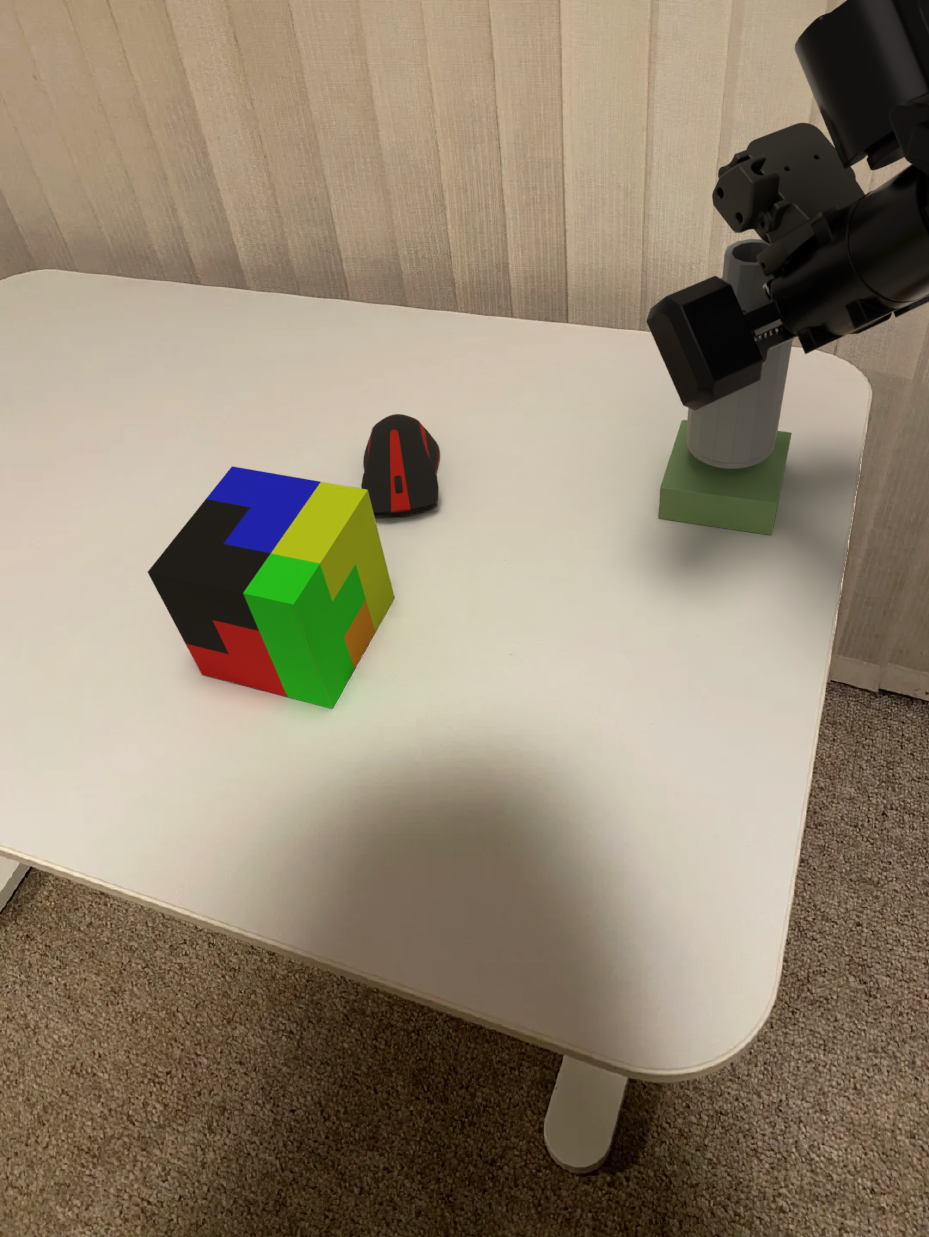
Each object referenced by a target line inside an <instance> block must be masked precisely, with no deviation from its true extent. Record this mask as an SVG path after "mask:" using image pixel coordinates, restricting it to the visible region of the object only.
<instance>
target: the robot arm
mask: <svg viewBox="0 0 929 1237" xmlns="http://www.w3.org/2000/svg"><path fill="white" fill-rule="evenodd" d="M794 52H795V54H796V58H797V59H798V62H799V64H800V66H801V69H802V71H803V74H804V76H805V78H806V81H807V83H808V85H809V88H810V91H811V93H812V96H813V98H814V100H815V103H816V105H817V108H818V110H819V112H820V115H821V118H822V120H823V121H824V125H825V127H826V129H827V132H828V135H829V137H830V140H831V141H830V140H829V139H828V137H827V136H826V135H825V133H824V132H823V131H822V130H821V129H820V128H819V127H817V126H816V125H814V124H812V123H808V122H798V123H795V124H792V125H789V126H786V127H784V128H781V129H779V130H776V131H773V132H770V133H768V134H766V135H763V136H760V137H758V138H754V139H752V141H750V142H749V143H748V144H747V147H746V149H745V150H741V151H739V152H736V153H734V155H733V157H732V159H731V161H730V162H729V163H727V164H726V165H723V166H721V167H719V168H718V172H717V178H718V179H717V181H716V184H715V186H714V187H713V190H712V194H711V198H712V204H713V207H714V208H715V210H716V211H717V212H718V213H719V215H720V216H721V217H722V219H723V220H724V221H725V222H726V224H727V226H729V228H730V230H732V231H733V232H734V233H736V234H742V233H744V232H747V231H750V230H753V231H754V232H755V234H756V235H757V236H758V237H759V239H761V240H764V241H765V242H767V243H769V244H771V245H770V246H769V247H767V248H766V249H765V250H763V251H762V252H761V253H759V254H758V255H757V256H756V258H757V261H758V263H759V265H760V268H761V270H762V272H763V275H764V276H765V277H768V276H770V275H772V277H773V279H771V280H769V281H767V282H766V283H764V284H763V289H764V292H765V294H766V296H767V298H768V299H769V300H772V303H769V304H767V305H765V306H762V307H760V308H758V309H756V310H753V311H751V312H749V313H746V310H745V308H744V309H741V307H740V304H739V302H738V300H737V297H736V295H735V293H734V290H733V288H732V286H731V284H729V283H727V282H726V281H724V280H722V279H721V278H722V277H719V276H717V275H712V276H711V277H709V278H706V279H704V280H701V281H699V282H696V283H694V284H692V285H689V286H687V287H685V288H681V289H680V290H677V291H675V292H672V293H671V294H668V295H666V296H664V297H663V298H662V299H661V300H658V302H657V303H655V304H654V305H653V306H652V307H650V308H649V312H648V314H647V317H646V319H645V320H646V321H645V322H646V324H647V327H648V329H649V331H650V333H651V336H652V338H653V340H654V343H655V346H656V347H657V350H658V352H659V354H660V356H661V358H662V361H663V363H664V366H665V367H666V370H667V373H668V374H669V377H670V380H671V382H672V384H673V386H674V389H675V391H676V393H677V395H678V397H679V400H680V402H681V404H682V406H683V407H686V408H687V409H688V408H690V409H692V410H694V411H696V410H698V409H700V408H702V407H704V406H706V405H709V404H711V403H713V402H715V401H717V400H719V399H722V398H724V397H726V396H728V395H730V394H732V393H734V392H736V391H739V390H741V389H743V388H745V387H747V386H749V385H751V384H753V383H755V382H757V381H759V380H760V378H761V371H762V366H763V365H765V363H766V362H767V360H768V351H769V350H770V349H772V348H774V347H776V346H779V345H781V344H783V343H785V342H787V341H790V340H792V339H793V340H794V339H797V338H798V341H799V343H800V345H801V348H802V350H803V352H804V354H805V355H807V354H810V353H812V352H813V351H815V350H817V349H820V348H822V347H824V346H826V345H829V344H830V343H833V342H835V341H838V340H840V339H842V338H844V337H846V336H849V335H859V334H861V333H863V332H865V331H868V330H869V329H871V328H874V327H876V326H878V325H880V324H883V323H885V322H887V321H888V320H890V319H891V317H892V315H894V317H895V318H899V317H901V316H903V315H905V314H907V313H909V312H911V311H914V310H916V309H918V308H920V307H922V306H925V305H926V304H928V303H929V0H845V1H843V2H842V3H841V4H839V5H838V6H837V7H835V8H834V9H833V10H831V11H830V12H827V13H824V14H822V15H820V16H818V17H817V18H815V19H813V21H812V22H811V23H810V24H809V25H808V26H807V27H806V28H805V29H804V31H802V33H801V34H800V35H799V36H798V38H797V39H796V42H795V43H794ZM865 158H866V163H867V165H868V167H869V170H870V171H877V170H880V169H882V168H885V167H887V166H890V165H891V164H894V163H896V162H898V161H899V160H902V159H905V161H906V162H908V163H910V165H908V166H907V167H905V168H903V170H901V171H899V172H898V173H897V174H895V175H894V176H892V177H891V178H889V179H888V180H886V181H885V182H884V183H882V184H881V185H879V186H878V187H876V188H875V189H873V190H870V191H869V192H866V193H865V192H864V191H863V188H862V187H861V185H860V184H859V182H858V181H857V178H856V177H857V174H856V173H855V171H854V169H853V168H852V166H854V165H856V164H858V163H859V162H861V161H862V160H864V159H865ZM778 321H781V322H782V324H781V325H779V326H776V327H774V328H773V329H770V330H768V331H765V332H763V333H762V335H761V334H759V335H757V336H756V334H755V331H757V330H760V329H762V328H764V327H766V326H769V325H771V324H773V323H775V322H778ZM756 340H757V341H756Z"/></svg>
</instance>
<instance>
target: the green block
mask: <svg viewBox="0 0 929 1237" xmlns="http://www.w3.org/2000/svg"><path fill="white" fill-rule="evenodd" d="M686 432H687V420H686V419H682V420H681V421H680V425H679V428H678V431H677V434H676V437H675V439H674V440H675V441H674V443H673V447H672V449H671V453H670V456H669V459H668V462H667V465H666V469H665V471H664V474H663V476H662V477H663V478H662V482H661V484H660V487H659V499H658V500H659V502H658V517H657V518H658V519H661V520H668V521H673V522H674V521H675V522H680V523H687V524H693V525H701V526H702V525H703V526H706V527H707V526H708V527H714V528H722V529H728V530H735V531H742V532H747V533H748V532H749V533H753V534H761V535H767V536H772V535H773V530H774V525H775V520H776V515H777V510H778V505H779V501H780V500H779V499H780V495H781V490H782V486H783V481H784V475H785V470H786V466H787V460H788V454H789V449H790V444H791V440H792V432H790V431H783V430H782V431H781V430H778V431H777V437H776V440H775V445H774V449H773V451H772V453H771V454H770V455H769V456H768V457H767V458H766V459H765V460H763V461H762V462H760V463H758V464H756V465H753V466H750V467H745V468H738V469H726V468H719V467H715V466H711V465H708V464H706V463H704V462H702V461H700V460H698V459H697V458H696V457H695V456H693V454H692V453H691V452H690V450H689V449H688V446H687V436H686Z"/></svg>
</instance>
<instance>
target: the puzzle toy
mask: <svg viewBox="0 0 929 1237" xmlns="http://www.w3.org/2000/svg"><path fill="white" fill-rule="evenodd" d="M387 565H388V564H387V562H386V557H385V553H384V549H383V544H382V542H381V537H380V533H379V530H378V526H377V521H376V516H374V513H373V509H372V505H371V501H370V497H369V493H368V490H366V489H361V487H360V488H359V487H355V486H348V485H343V484H337V483H331V482H326V481H320V480H314V479H307V478H301V477H296V476H291V475H284V474H280V473H274V472H268V471H261V470H256V469H250V468H245V467H238V466H232V465H231V467H230V468H229V469H228V470H227V471H226V473H225V474H224V475H223V477H222V478H221V479H220V480H219V482H218V483H217V484H216V485H215V487H214V488H213V490H211V492H210V493H209V494H208V495H207V497H206V498H205V499H204V500H203V502H202V503H201V504H200V506H198V508H197V509H196V510H195V512H194V513H193V514H192V516H191V517H190V518H189V519H188V521H187V522H186V523H185V524H184V526H183V527H182V528H181V529H180V530H179V532H178V533H177V534H176V536H175V537H174V538H173V539H172V541H170V543H169V544H168V546H167V547H166V548H165V549H164V551H163V552H161V554H160V556H159V557H158V558H157V559H156V560H155V561H154V563H153V565H151V566H150V568H149V569H148V571H147V574H148V576H149V577H150V579H151V581H152V584H153V586H154V588H155V589H156V591H157V593H158V595H159V597H160V599H161V600H162V602H163V604H164V607H165V608H166V610H167V612H168V614H169V616H170V618H171V619H172V622H173V623H174V625H175V627H176V629H177V631H178V632H179V634H180V636H181V638H182V640H183V642H184V644H185V646H186V648H187V649H188V652H189V653H190V655H191V657H192V659H193V661H194V662H195V665H196V666H197V668H198V670H199V672H200V674H201V676H205V677H209V678H212V679H216V680H219V681H224V682H228V683H232V684H234V685H235V684H236V685H240V686H243V687H247V688H251V689H254V690H259V691H263V692H267V693H271V694H274V695H278V696H282V697H286V698H289V699H294V700H298V701H301V702H304V703H309V704H312V705H315V706H316V705H317V706H320V707H323V708H328V709H332V710H333V709H334V707H335V705H336V703H337V701H338V700H339V698H340V696H341V694H342V692H343V691H344V689H345V687H346V686H347V684H348V682H349V680H350V678H351V676H352V675H353V673H354V672H355V669H356V668H357V666H358V664H359V662H360V660H361V659H362V656H364V653H365V652H366V650H367V648H368V646H369V644H370V643H371V641H372V639H373V637H374V636H375V634H376V632H377V630H378V628H379V626H380V625H381V623H382V621H383V619H384V618H385V615H386V614H387V612H388V610H389V608H390V607H391V605H392V603H393V602H394V600H395V598H396V597H395V593H394V589H393V585H392V581H391V577H390V575H389V570H388V566H387Z"/></svg>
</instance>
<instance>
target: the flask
mask: <svg viewBox="0 0 929 1237" xmlns="http://www.w3.org/2000/svg"><path fill="white" fill-rule="evenodd" d="M770 245H771V244H769V243H767V242H765V241H764V240H762V239H761V238H759V239H758V238H748V239H742V240H737V241H735V242H734V243H731V244H730V245H728V246H727V247H726V249H725V251H724V258H723V265H722V277H720V278H721V279H722V280H724V281H726V282H727V283H729V284H731V286H732V288H733V290H734V293H735V295H736V297H737V300H738V302H739V304H740V307H741V309H744V308H745V310H746V313H749V312H751V311H753V310H756V309H758V308H760V307H762V306H765V305H767V304H769V303H772V300H769V299H768V298H767V296H766V294H765V292H764V289H763V284H764V283H766V282H767V281H769V280H771V279H773V277H772V275H770V276H768V277H765V276H764V275H763V272H762V270H761V268H760V265H759V263H758V261H757V258H756V256H757V255H758V254H759V253H761V252H762V251H763V250H765V249H766V248H767V247H769V246H770ZM781 324H782V322H781V321H778V322H775V323H773V324H771V325H769V326H766V327H764V328H762V329H760V330H757V331H755V334H756V336H757V335H759V334H761V335H762V333H763V332H765V331H768V330H770V329H773V328H774V327H776V326H779V325H781ZM756 341H757V340H756ZM793 342H794V339H792V340H790V341H787V342H785V343H783V344H781V345H779V346H776V347H774V348H772V349H770V350H769V351H768V360H767V362H766V363H765V365H763V366H762V371H761V378H760V380H759V381H757V382H755V383H753V384H751V385H749V386H747V387H745V388H743V389H741V390H739V391H736V392H734V393H732V394H730V395H728V396H726V397H724V398H722V399H719V400H717V401H715V402H713V403H711V404H709V405H706V406H704V407H702V408H700V409H698V410H696V411H694V410H692V409H690V408H688V407H687V432H686V436H687V446H688V449H689V450H690V452H691V453H692V454H693V456H695V457H696V458H697V459H698V460H700V461H702V462H704V463H706V464H708V465H711V466H715V467H719V468H726V469H738V468H745V467H750V466H753V465H756V464H758V463H760V462H762V461H763V460H765V459H766V458H767V457H768V456H769V455H770V454H771V453H772V451H773V449H774V445H775V440H776V437H777V431H779V424H780V419H781V412H782V406H783V400H784V394H785V389H786V383H787V376H788V371H789V364H790V358H791V353H792V346H793Z"/></svg>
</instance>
